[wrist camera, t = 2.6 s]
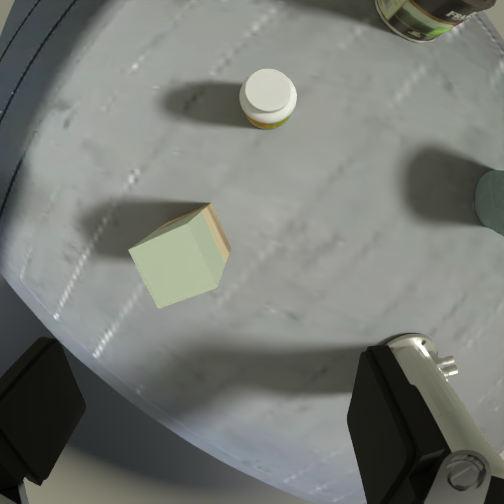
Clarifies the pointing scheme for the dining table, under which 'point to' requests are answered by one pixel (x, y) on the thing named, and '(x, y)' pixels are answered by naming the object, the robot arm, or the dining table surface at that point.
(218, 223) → the block bottom
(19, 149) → the dining table surface
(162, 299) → the block top
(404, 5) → the coffee can
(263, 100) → the supplement bottle
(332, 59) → the dining table surface
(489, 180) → the green cup
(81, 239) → the dining table surface
